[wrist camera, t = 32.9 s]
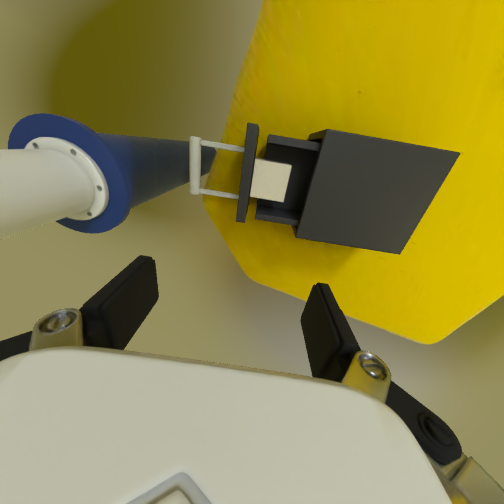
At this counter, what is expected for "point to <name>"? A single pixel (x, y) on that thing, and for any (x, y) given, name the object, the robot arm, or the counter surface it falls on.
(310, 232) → the dark grey drawer box
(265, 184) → the block
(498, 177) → the counter surface
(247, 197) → the dark grey drawer
